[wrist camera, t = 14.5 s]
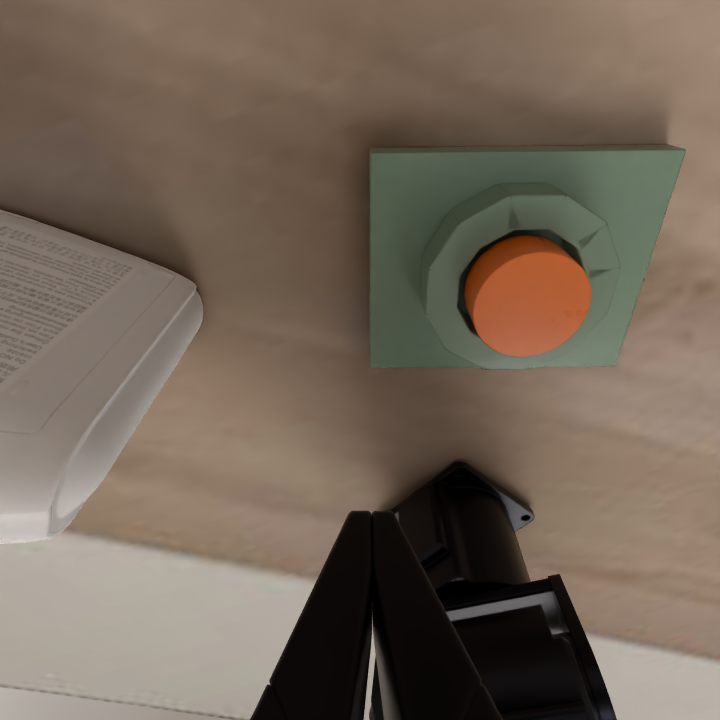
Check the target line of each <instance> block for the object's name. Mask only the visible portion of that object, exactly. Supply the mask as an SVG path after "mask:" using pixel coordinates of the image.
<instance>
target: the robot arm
mask: <svg viewBox="0 0 720 720" xmlns="http://www.w3.org/2000/svg"><path fill="white" fill-rule="evenodd" d="M459 470H462V471H459ZM458 471H459V472H458ZM533 520H534V513H533V511H532V509H531V508H530V507H528V506H527V505H526V504H524V503H523V502H521V501H520V500H518V499H517V498H515V497H514V496H513V495H511V494H510V493H508V492H507V491H505V490H504V489H502V488H501V487H500V486H498V485H497V484H495V483H494V482H492V481H491V480H489V479H488V478H487V477H485V476H484V475H482V474H481V473H479V472H478V471H477V470H475V469H474V468H472V467H471V466H469V465H468V464H466V463H464V462H455V463H454V464H452V465H451V466H449V467H448V468H447V469H445V470H444V471H443V472H441V473H440V474H439V475H438V476H436V477H435V478H434V479H432V480H431V481H430V482H428V483H427V484H426V485H424V486H423V487H422V488H420V489H419V490H418V491H417V492H415V493H414V494H413V495H411V496H410V497H409V498H407V499H406V500H405V501H403V502H402V503H401V504H399V505H398V506H397V507H395V508H394V509H393V510H392V511H374V512H372V521H371V513H370V512H369V511H351V512H350V513H349V514H348V516H347V518H346V520H345V522H344V525H343V527H342V529H341V531H340V533H339V535H338V537H337V539H336V541H335V543H334V546H333V548H332V550H331V552H330V554H329V556H328V558H327V560H326V562H325V564H324V567H323V569H322V571H321V573H320V575H319V577H318V579H317V581H316V583H315V585H314V588H313V590H312V592H311V594H310V596H309V598H308V600H307V602H306V604H305V607H304V609H303V611H302V613H301V615H300V617H299V619H298V621H297V623H296V625H295V628H294V630H293V632H292V634H291V636H290V638H289V640H288V642H287V644H286V646H285V649H284V651H283V653H282V655H281V657H280V659H279V661H278V663H277V665H276V668H275V670H274V672H273V674H272V676H271V678H270V685H267V686H266V688H265V690H264V692H263V694H262V696H261V698H260V701H259V703H258V705H257V707H256V709H255V711H254V713H253V715H252V717H251V719H250V720H363V719H364V709H365V699H366V689H367V679H368V669H369V659H370V649H371V637H372V615H373V634H374V644H375V652H376V658H375V668H374V677H373V687H372V696H371V703H372V704H371V708H370V712H369V718H370V720H617V719H616V716H615V712H614V709H613V706H612V703H611V700H610V697H609V694H608V692H607V689H606V686H605V683H604V680H603V678H602V675H601V672H600V669H599V667H598V664H597V662H596V659H595V656H594V654H593V651H592V649H591V647H590V644H589V642H588V639H587V637H586V635H585V632H584V630H583V628H582V625H581V623H580V621H579V618H578V616H577V614H576V611H575V609H574V607H573V604H572V602H571V600H570V597H569V595H568V593H567V590H566V588H565V586H564V583H563V581H562V579H561V576H560V574H557V575H552V576H548V578H547V579H542V580H537V581H532V582H531V581H530V578H529V575H528V572H527V569H526V566H525V563H524V560H523V556H522V553H521V550H520V547H519V544H518V541H517V538H516V535H515V532H516V531H517V530H519V529H520V528H522V527H524V526H525V525H527V524H528V523H530V522H531V521H533Z"/></svg>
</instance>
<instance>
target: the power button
mask: <svg viewBox="0 0 720 720" xmlns="http://www.w3.org/2000/svg"><path fill="white" fill-rule="evenodd" d="M464 300H465V304H466V308H467V310H468V313H469V315H470V317H471V320H472V322H473V325H474V327H475V329H476V332H477V334H478V335H479V337H480V338H481V340H482V341H483V342H484V343H485V344H486V345H487V346H489V347H490V348H492V349H493V350H495V351H497V352H499V353H502V354H505V355H509V356H515V357H527V356H534V355H538V354H542V353H545V352H548V351H550V350H552V349H554V348H556V347H558V346H559V345H561V344H563V343H564V342H565V341H567V340H568V339H569V338H570V337H571V336H572V335H573V334H574V333H575V332H576V331H577V330H578V329H579V327H580V326H581V325H582V323H583V321H584V320H585V318H586V316H587V313H588V310H589V308H590V303H591V285H590V282H589V279H588V276H587V274H586V273H585V271H584V270H583V268H582V267H581V266H580V265H579V264H578V263H577V262H576V261H575V260H574V259H573V258H572V257H571V256H570V255H569V254H568V253H567V252H566V251H564V250H563V249H562V248H561V247H560V246H559V245H558V244H556V243H555V242H553V241H551V240H549V239H547V238H544V237H540V236H535V235H522V236H516V237H511V238H508V239H505V240H503V241H501V242H499V243H497V244H495V245H493V246H492V247H490V248H489V249H488V250H486V251H485V252H484V253H483V254H482V255H481V256H480V257H479V258H478V259H477V261H476V262H475V263H474V265H473V266H472V268H471V269H470V271H469V274H468V276H467V279H466V282H465V287H464Z"/></svg>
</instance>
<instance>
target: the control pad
mask: <svg viewBox="0 0 720 720" xmlns="http://www.w3.org/2000/svg"><path fill="white" fill-rule="evenodd" d="M685 152H686V150H685V149H682V148H679V147H675V146H672V145H668V144H658V145H569V146H481V147H392V148H370V368H437V367H480V368H482V369H483V368H484V369H486V370H488V369H532V368H534V367H582V366H615V365H616V362H617V359H618V356H619V353H620V350H621V347H622V344H623V341H624V338H625V335H626V332H627V329H628V326H629V323H630V320H631V317H632V314H633V311H634V308H635V304H636V301H637V298H638V295H639V292H640V289H641V286H642V283H643V280H644V277H645V274H646V271H647V268H648V265H649V262H650V259H651V256H652V253H653V250H654V247H655V244H656V241H657V237H658V234H659V231H660V228H661V225H662V222H663V219H664V216H665V213H666V210H667V207H668V204H669V201H670V198H671V195H672V192H673V189H674V186H675V183H676V180H677V177H678V174H679V170H680V167H681V164H682V161H683V158H684V155H685ZM522 235H535V236H540V237H544V238H547V239H549V240H551V241H553V242H555V243H556V244H558V245H559V246H560V247H561V248H562V249H563V250H564V251H566V252H567V253H568V254H569V255H570V256H571V257H572V258H573V259H574V260H575V261H576V262H577V263H578V264H579V265H580V266H581V267H582V268H583V270H584V271H585V273H586V274H587V276H588V279H589V282H590V285H591V303H590V308H589V310H588V313H587V316H586V318H585V320H584V321H583V323H582V325H581V326H580V327H579V329H578V330H577V331H576V332H575V333H574V334H573V335H572V336H571V337H570V338H569V339H568V340H567V341H565V342H564V343H563V344H561V345H559V346H558V347H556V348H554V349H552V350H550V351H548V352H545V353H542V354H538V355H534V356H527V357H515V356H509V355H505V354H502V353H499V352H497V351H495V350H493V349H492V348H490V347H489V346H487V345H486V344H485V343H484V342H483V341H482V340H481V338H480V337H479V335H478V334H477V332H476V329H475V327H474V325H473V322H472V320H471V317H470V315H469V313H468V310H467V308H466V304H465V300H464V287H465V282H466V279H467V276H468V274H469V271H470V269H471V268H472V266H473V265H474V263H475V262H476V261H477V259H478V258H479V257H480V256H481V255H482V254H483V253H484V252H485V251H486V250H488V249H489V248H490V247H492V246H493V245H495V244H497V243H499V242H501V241H503V240H505V239H508V238H511V237H516V236H522Z"/></svg>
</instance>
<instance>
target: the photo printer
mask: <svg viewBox="0 0 720 720" xmlns="http://www.w3.org/2000/svg"><path fill="white" fill-rule="evenodd" d="M196 288H197V286H196V285H195V284H194V283H193V282H192V281H191V280H189V279H187V278H185V277H183V276H181V275H179V274H177V273H175V272H173V271H171V270H169V269H167V268H164V267H162V266H159V265H157V264H154V263H151V262H149V261H146V260H144V259H141V258H139V257H136V256H133V255H131V254H128V253H125V252H122V251H119V250H117V249H114V248H112V247H109V246H106V245H103V244H100V243H97V242H95V241H92V240H89V239H86V238H84V237H81V236H78V235H75V234H72V233H69V232H66V231H63V230H61V229H58V228H55V227H53V226H50V225H47V224H44V223H40V222H38V221H36V220H33V219H29V218H26V217H23V216H20V215H17V214H13V213H10V212H7V211H4V210H0V544H6V543H21V542H32V541H42V540H48V539H52V538H54V537H56V536H58V535H59V534H60V533H61V532H62V531H63V530H64V529H65V528H66V527H67V526H68V525H69V524H70V523H71V521H72V520H73V519H74V518H75V516H76V515H77V514H78V512H79V511H80V509H81V508H82V506H83V505H84V503H85V502H86V500H87V499H88V498H89V497H90V496H91V495H92V493H93V492H94V491H95V490H96V489H97V487H98V486H99V485H100V484H101V482H102V481H103V480H104V478H105V477H106V475H107V473H108V472H109V470H110V469H111V467H112V466H113V464H114V462H115V461H116V459H117V458H118V456H119V454H120V453H121V451H122V450H123V448H124V447H125V445H126V443H127V442H128V440H129V439H130V437H131V436H132V434H133V432H134V431H135V429H136V428H137V426H138V424H139V423H140V421H141V420H142V418H143V417H144V415H145V414H146V412H147V410H148V409H149V407H150V406H151V404H152V403H153V401H154V399H155V398H156V396H157V395H158V393H159V392H160V390H161V389H162V387H163V385H164V384H165V382H166V381H167V379H168V378H169V376H170V375H171V373H172V371H173V370H174V368H175V367H176V365H177V363H178V362H179V360H180V359H181V357H182V356H183V354H184V352H185V351H186V349H187V348H188V346H189V344H190V343H191V341H192V340H193V338H194V336H195V335H196V333H197V332H198V330H199V328H200V326H201V324H202V320H203V305H202V301H201V298H200V295H199V293H198V292H197V291H196Z"/></svg>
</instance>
